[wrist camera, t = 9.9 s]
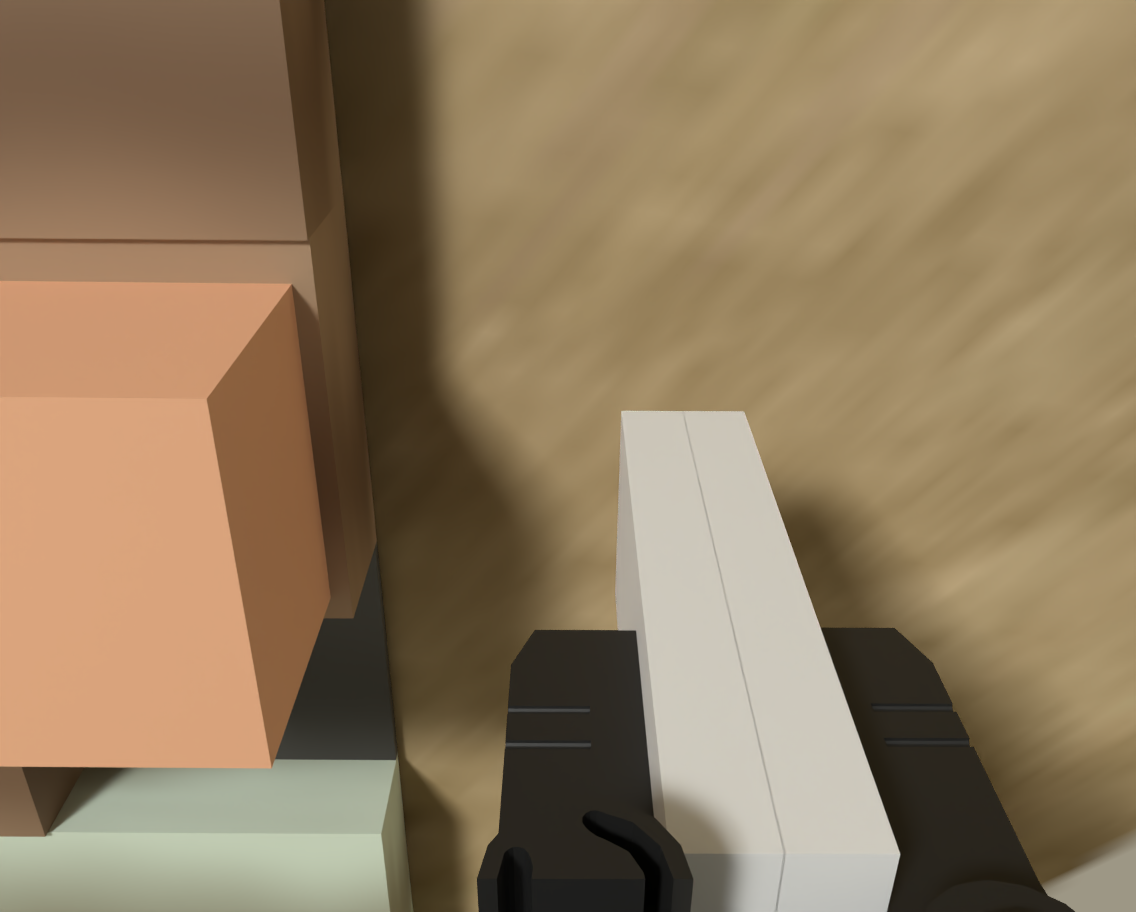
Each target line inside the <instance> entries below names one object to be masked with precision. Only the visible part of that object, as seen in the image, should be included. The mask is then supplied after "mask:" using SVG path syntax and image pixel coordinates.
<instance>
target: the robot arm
mask: <svg viewBox="0 0 1136 912" xmlns="http://www.w3.org/2000/svg"><path fill="white" fill-rule="evenodd" d="M615 595H616V609H617V624H618V630H535V631H534V632H533V634H532V635H531V637H530V638H529V640H528V641H527V642H526V644H525V645H524V647H523V648H522V650H521V651H520V653H519V654H518V656H517V657H516V659H515V660H514V661H513V663H512V664H511V674H510V688H509V701H508V715H507V728H506V747H505V755H504V768H503V782H502V795H501V809H500V822H499V833H498V835H497V836H496V837H495V838H494V839H493V840H492V841H491V842H490V843H489V845H488V847H487V850H486V853H485V856H484V859H483V862H482V865H481V868H480V871H479V874H478V877H477V888H478V906H479V912H1075V911H1074V910H1072V909H1071V908H1070V907H1068V906H1067V905H1066V904H1064V903H1062V902H1060V901H1058V900H1056V899H1054V898H1051V897H1049V896H1048V895H1047V894H1046V892H1045V890H1044V889H1043V887H1042V886H1041V884H1040V883H1039V881H1038V879H1037V877H1036V875H1035V873H1034V871H1033V869H1032V867H1031V864H1030V862H1029V860H1028V858H1027V856H1026V854H1025V852H1024V850H1023V848H1022V846H1021V844H1020V842H1019V840H1018V838H1017V836H1016V834H1015V832H1014V829H1013V827H1012V825H1011V823H1010V821H1009V819H1008V817H1007V815H1006V813H1005V811H1004V809H1003V807H1002V805H1001V803H1000V801H999V799H998V797H997V794H996V792H995V790H994V788H993V786H992V784H991V782H990V780H989V778H988V776H987V774H986V772H985V770H984V768H983V766H982V764H981V762H980V759H979V757H978V755H977V753H976V751H975V749H974V747H970V745H969V737H968V735H967V733H966V731H965V729H964V727H963V724H962V722H961V720H960V718H959V716H958V714H957V712H953V710H952V702H951V700H950V698H949V696H948V694H947V692H946V689H945V687H944V685H943V683H942V681H941V679H940V677H939V675H938V673H937V671H936V669H935V667H934V665H933V663H932V662H931V661H930V660H929V659H928V658H927V657H926V656H925V655H923V654H922V653H921V652H920V651H919V650H918V649H917V648H916V647H915V646H914V645H913V644H911V643H910V642H909V641H908V640H907V639H906V638H905V637H904V636H903V635H902V634H901V633H899V632H898V631H897V630H896V629H895V628H820V625H819V622H818V619H817V617H816V614H815V611H814V608H813V605H812V602H811V600H810V597H809V594H808V591H807V588H806V585H805V583H804V580H803V577H802V574H801V571H800V568H799V566H798V563H797V560H796V557H795V554H794V551H793V549H792V546H791V543H790V540H789V537H788V534H787V532H786V529H785V526H784V523H783V520H782V517H781V515H780V512H779V509H778V506H777V503H776V500H775V498H774V495H773V492H772V489H771V486H770V483H769V481H768V478H767V475H766V472H765V469H764V466H763V464H762V461H761V458H760V455H759V452H758V449H757V447H756V444H755V441H754V438H753V435H752V433H751V430H750V427H749V424H748V421H747V418H746V416H745V413H744V411H621V440H620V470H619V499H618V529H617V559H616V588H615Z"/></svg>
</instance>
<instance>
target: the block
mask: <svg viewBox="0 0 1136 912" xmlns="http://www.w3.org/2000/svg"><path fill="white" fill-rule="evenodd" d="M330 598H331V596H330V588H329V580H328V572H327V564H326V555H325V547H324V539H323V531H322V523H321V515H320V507H319V499H318V491H317V483H316V475H315V467H314V459H313V451H312V443H311V435H310V427H309V419H308V411H307V403H306V395H305V387H304V379H303V371H302V363H301V355H300V347H299V339H298V330H297V322H296V314H295V306H294V298H293V290H292V284H257V283H160V282H62V281H0V766H5V767H137V768H269V769H272V766H273V763H274V761H275V758H276V755H277V752H278V749H279V746H280V743H281V740H282V737H283V734H284V732H285V729H286V726H287V723H288V720H289V717H290V714H291V711H292V708H293V705H294V703H295V700H296V697H297V694H298V691H299V688H300V685H301V682H302V679H303V676H304V674H305V671H306V668H307V665H308V662H309V659H310V656H311V653H312V650H313V647H314V645H315V642H316V639H317V636H318V633H319V630H320V627H321V624H322V621H323V618H324V616H325V613H326V610H327V607H328V604H329V601H330Z"/></svg>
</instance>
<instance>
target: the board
mask: <svg viewBox="0 0 1136 912" xmlns="http://www.w3.org/2000/svg"><path fill="white" fill-rule="evenodd" d="M0 281H62V282H160V283H257V284H292V290H293V298H294V306H295V314H296V322H297V330H298V339H299V347H300V355H301V363H302V371H303V379H304V387H305V395H306V403H307V411H308V419H309V427H310V435H311V443H312V451H313V459H314V467H315V475H316V483H317V491H318V499H319V507H320V515H321V523H322V531H323V539H324V547H325V555H326V564H327V572H328V580H329V588H330V596H331V598H330V601H329V604H328V607H327V610H326V613H325V616H324V618H323V621H322V624H321V627H320V630H319V633H318V636H317V639H316V642H315V645H314V647H313V650H312V653H311V656H310V659H309V662H308V665H307V668H306V671H305V674H304V676H303V679H302V682H301V685H300V688H299V691H298V694H297V697H296V700H295V703H294V705H293V708H292V711H291V714H290V717H289V720H288V723H287V726H286V729H285V732H284V734H283V737H282V740H281V743H280V746H279V749H278V752H277V755H276V758H275V761H274V763H273V766H272V769H269V768H137V767H5V766H0V912H413V905H412V895H411V884H410V874H409V864H408V854H407V843H406V833H405V823H404V813H403V802H402V792H401V782H400V772H399V761H398V751H397V741H396V731H395V721H394V710H393V700H392V690H391V680H390V669H389V659H388V649H387V639H386V628H385V618H384V608H383V598H382V587H381V577H380V567H379V557H378V546H377V536H376V526H375V516H374V505H373V495H372V485H371V475H370V464H369V454H368V444H367V434H366V423H365V413H364V403H363V393H362V382H361V372H360V362H359V352H358V341H357V331H356V321H355V311H354V300H353V290H352V280H351V270H350V260H349V249H348V239H347V229H346V219H345V208H344V198H343V188H342V178H341V167H340V157H339V147H338V137H337V126H336V116H335V106H334V96H333V85H332V75H331V65H330V55H329V44H328V34H327V24H326V14H325V3H324V0H0Z"/></svg>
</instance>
